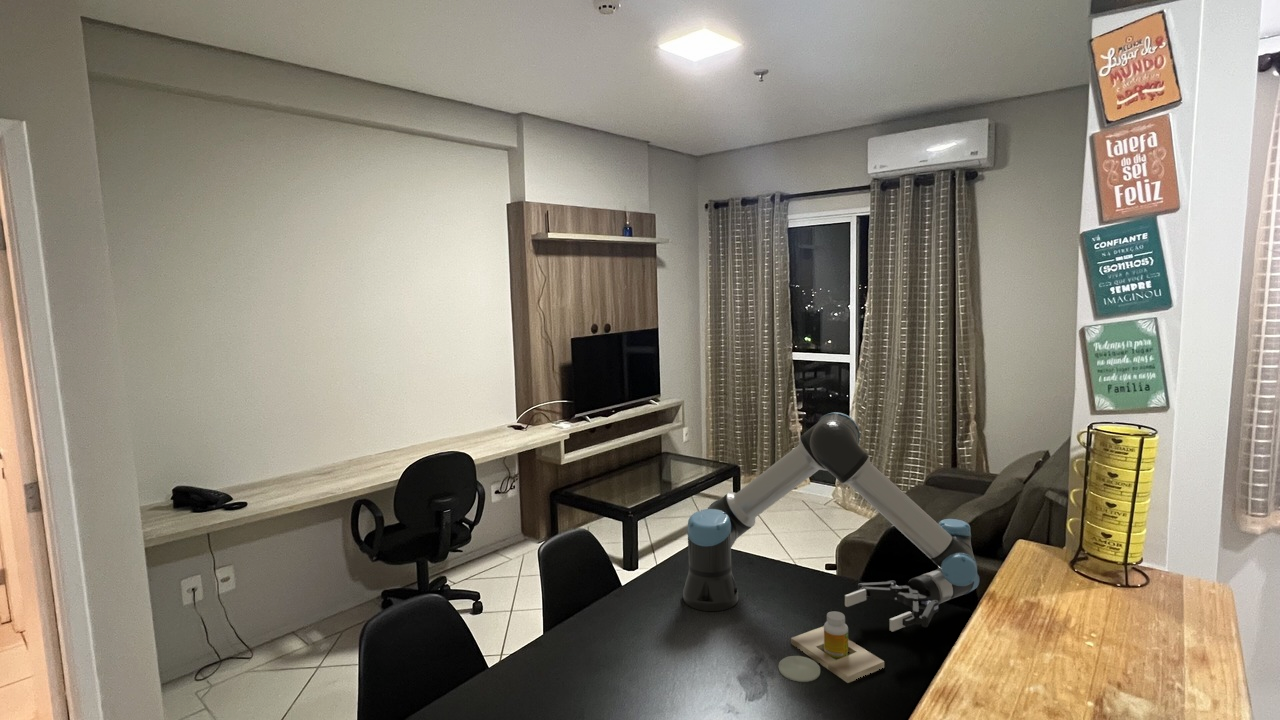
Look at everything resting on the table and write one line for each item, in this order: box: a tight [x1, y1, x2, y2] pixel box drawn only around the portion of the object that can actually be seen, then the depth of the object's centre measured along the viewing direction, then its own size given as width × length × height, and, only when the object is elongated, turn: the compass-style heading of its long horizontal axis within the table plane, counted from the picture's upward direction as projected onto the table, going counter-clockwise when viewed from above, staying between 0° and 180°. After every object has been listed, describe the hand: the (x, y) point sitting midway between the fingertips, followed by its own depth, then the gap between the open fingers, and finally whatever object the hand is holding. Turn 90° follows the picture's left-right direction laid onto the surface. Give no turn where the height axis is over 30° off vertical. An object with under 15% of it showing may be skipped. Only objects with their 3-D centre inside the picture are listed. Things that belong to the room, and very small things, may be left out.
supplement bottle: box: [823, 610, 849, 660], centre depth 147 cm, size 5×5×10 cm
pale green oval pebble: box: [778, 655, 821, 683], centre depth 143 cm, size 9×9×1 cm
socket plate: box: [790, 625, 885, 684], centre depth 148 cm, size 18×11×2 cm, turn 28°
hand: (867, 612), depth 151 cm, fingers open, 13 cm apart
